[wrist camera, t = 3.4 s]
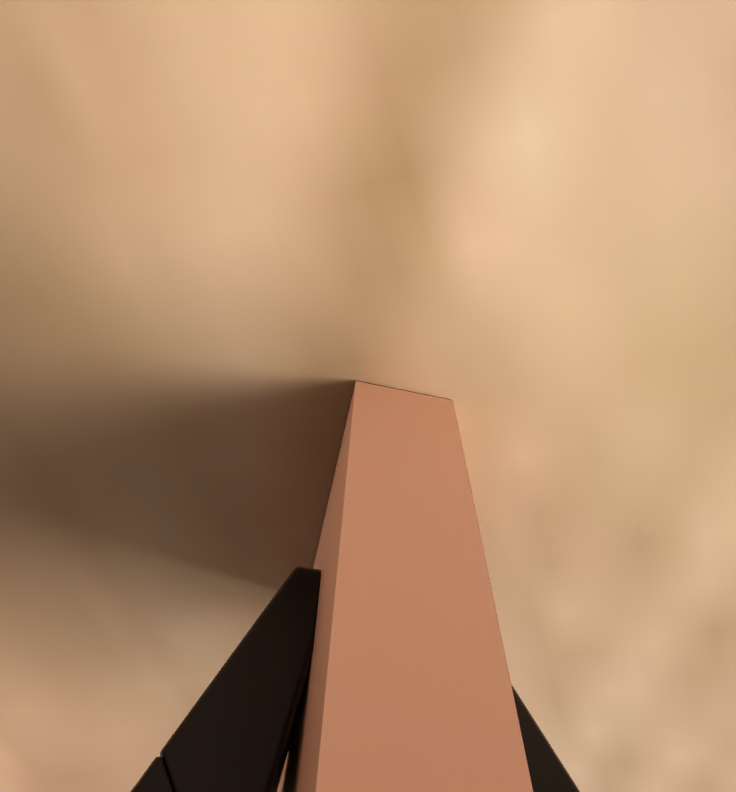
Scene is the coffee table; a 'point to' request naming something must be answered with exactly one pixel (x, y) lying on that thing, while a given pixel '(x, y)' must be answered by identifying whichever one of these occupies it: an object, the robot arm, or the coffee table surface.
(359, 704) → the domino
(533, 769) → the robot arm
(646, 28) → the coffee table surface
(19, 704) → the coffee table surface
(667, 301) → the coffee table surface
